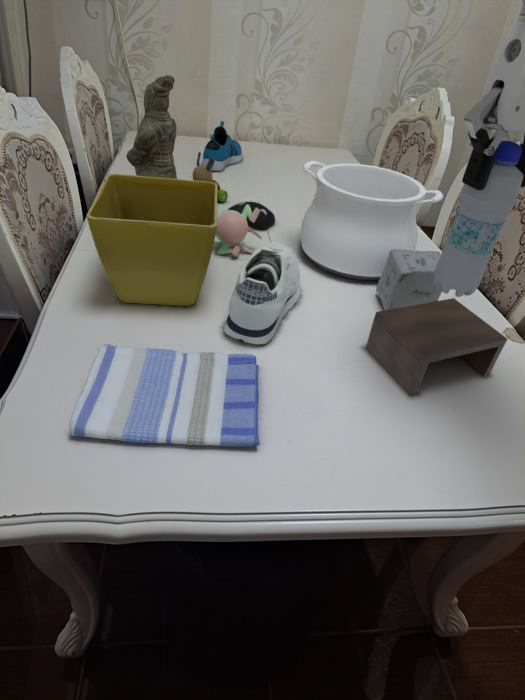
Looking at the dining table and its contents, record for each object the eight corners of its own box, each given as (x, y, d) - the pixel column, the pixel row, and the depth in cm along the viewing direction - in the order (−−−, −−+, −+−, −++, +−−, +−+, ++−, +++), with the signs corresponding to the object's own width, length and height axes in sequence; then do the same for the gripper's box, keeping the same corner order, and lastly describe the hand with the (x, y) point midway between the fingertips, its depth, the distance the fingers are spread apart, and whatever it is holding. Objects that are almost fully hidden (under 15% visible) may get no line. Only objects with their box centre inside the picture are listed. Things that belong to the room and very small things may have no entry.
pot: (271, 260, 101) (281, 176, 91) (312, 223, 120) (325, 149, 109) (404, 302, 93) (432, 215, 83) (426, 255, 112) (452, 179, 101)
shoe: (248, 154, 160) (252, 115, 153) (225, 174, 142) (227, 130, 134) (222, 149, 161) (224, 110, 154) (195, 168, 143) (196, 125, 136)
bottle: (483, 303, 67) (550, 152, 55) (436, 298, 66) (492, 145, 54) (467, 279, 72) (525, 136, 60) (423, 275, 72) (472, 131, 60)
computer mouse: (235, 209, 122) (236, 193, 119) (278, 222, 118) (280, 206, 115) (219, 218, 116) (220, 202, 114) (263, 232, 112) (265, 216, 110)
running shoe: (305, 271, 99) (314, 217, 92) (286, 355, 76) (297, 292, 69) (252, 262, 100) (257, 207, 93) (218, 343, 77) (221, 278, 70)
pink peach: (275, 222, 102) (249, 212, 108) (246, 197, 95) (220, 187, 101) (245, 271, 103) (221, 258, 109) (214, 250, 96) (190, 237, 102)
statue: (152, 209, 116) (147, 66, 98) (186, 220, 113) (187, 74, 95) (122, 225, 108) (110, 71, 90) (157, 236, 105) (152, 80, 87)
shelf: (489, 374, 78) (507, 338, 74) (410, 396, 72) (425, 358, 67) (440, 332, 86) (453, 298, 82) (365, 348, 80) (375, 311, 76)
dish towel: (101, 353, 72) (99, 337, 71) (259, 365, 74) (261, 350, 72) (63, 441, 59) (60, 425, 57) (258, 454, 60) (260, 438, 58)
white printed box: (386, 318, 88) (402, 267, 82) (373, 294, 95) (387, 245, 88) (437, 319, 90) (456, 269, 83) (421, 295, 96) (437, 247, 90)
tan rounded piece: (229, 201, 126) (232, 156, 119) (204, 208, 120) (206, 162, 113) (205, 190, 130) (206, 146, 123) (180, 196, 125) (180, 151, 118)
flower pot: (212, 319, 82) (217, 225, 72) (96, 313, 80) (84, 216, 70) (213, 265, 97) (217, 181, 87) (116, 259, 95) (108, 173, 85)
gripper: (532, 4, 43) (462, 200, 54) (648, 20, 50) (565, 192, 61) (472, -3, 49) (419, 177, 60) (584, 12, 55) (518, 172, 66)
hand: (493, 183), depth 60 cm, fingers closed on bottle, 6 cm apart
